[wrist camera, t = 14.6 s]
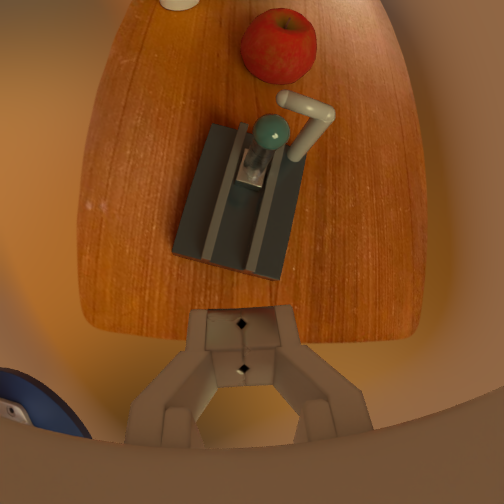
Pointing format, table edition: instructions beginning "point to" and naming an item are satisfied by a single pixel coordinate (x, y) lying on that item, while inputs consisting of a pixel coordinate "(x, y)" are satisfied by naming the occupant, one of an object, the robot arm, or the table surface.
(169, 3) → the water bottle
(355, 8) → the table surface
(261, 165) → the tap handle
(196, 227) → the tap base
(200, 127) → the table surface
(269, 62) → the apple
